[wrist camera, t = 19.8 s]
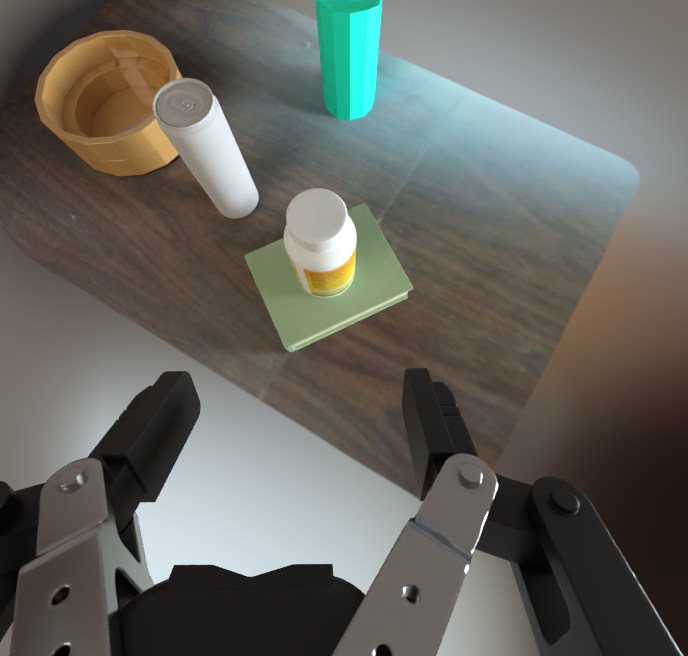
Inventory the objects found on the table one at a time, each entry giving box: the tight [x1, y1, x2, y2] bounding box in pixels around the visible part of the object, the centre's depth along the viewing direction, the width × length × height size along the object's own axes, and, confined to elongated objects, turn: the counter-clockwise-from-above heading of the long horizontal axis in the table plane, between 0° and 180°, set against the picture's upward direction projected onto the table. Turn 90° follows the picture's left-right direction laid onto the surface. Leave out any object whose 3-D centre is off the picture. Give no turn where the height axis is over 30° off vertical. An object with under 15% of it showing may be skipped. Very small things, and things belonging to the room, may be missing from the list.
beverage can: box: [152, 78, 259, 219], centre depth 29 cm, size 5×5×12 cm
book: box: [244, 202, 413, 353], centre depth 31 cm, size 13×10×3 cm
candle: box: [316, 0, 382, 120], centre depth 32 cm, size 6×6×12 cm
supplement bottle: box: [284, 188, 356, 298], centre depth 25 cm, size 5×5×10 cm
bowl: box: [35, 30, 183, 176], centre depth 35 cm, size 15×15×5 cm
